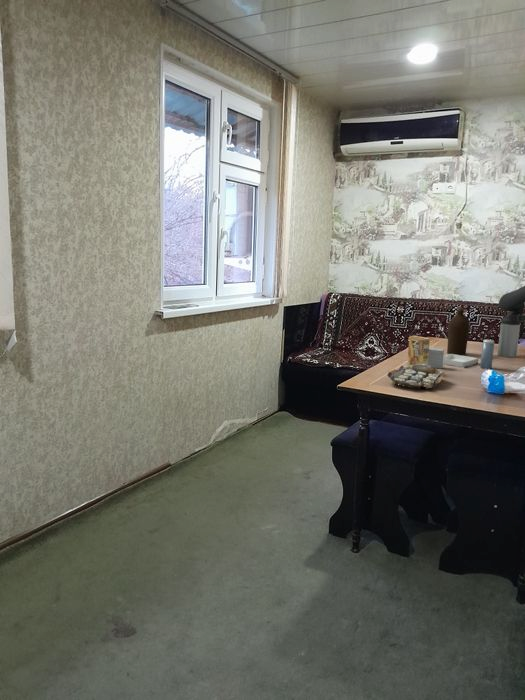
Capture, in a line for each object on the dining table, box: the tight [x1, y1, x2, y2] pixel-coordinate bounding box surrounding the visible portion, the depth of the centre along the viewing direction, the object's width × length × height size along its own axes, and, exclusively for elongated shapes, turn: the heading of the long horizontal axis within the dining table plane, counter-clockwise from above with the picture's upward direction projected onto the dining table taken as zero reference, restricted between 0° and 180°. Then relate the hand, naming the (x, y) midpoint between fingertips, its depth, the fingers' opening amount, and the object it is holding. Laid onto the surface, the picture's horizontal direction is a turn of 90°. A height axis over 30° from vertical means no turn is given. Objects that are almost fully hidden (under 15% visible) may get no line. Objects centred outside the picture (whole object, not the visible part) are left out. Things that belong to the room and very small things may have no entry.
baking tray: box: [387, 364, 447, 390], centre depth 218 cm, size 30×22×5 cm
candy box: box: [406, 335, 431, 366], centre depth 240 cm, size 9×4×15 cm, turn 33°
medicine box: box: [428, 347, 445, 369], centre depth 248 cm, size 8×4×9 cm, turn 65°
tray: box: [443, 354, 479, 368], centre depth 259 cm, size 16×14×2 cm
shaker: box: [479, 339, 495, 370], centre depth 249 cm, size 5×5×13 cm
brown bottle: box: [446, 306, 471, 356], centre depth 281 cm, size 11×11×25 cm
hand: (513, 317), depth 238 cm, fingers open, 8 cm apart
